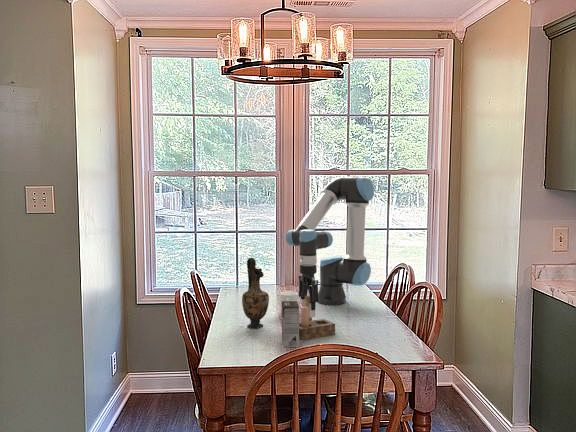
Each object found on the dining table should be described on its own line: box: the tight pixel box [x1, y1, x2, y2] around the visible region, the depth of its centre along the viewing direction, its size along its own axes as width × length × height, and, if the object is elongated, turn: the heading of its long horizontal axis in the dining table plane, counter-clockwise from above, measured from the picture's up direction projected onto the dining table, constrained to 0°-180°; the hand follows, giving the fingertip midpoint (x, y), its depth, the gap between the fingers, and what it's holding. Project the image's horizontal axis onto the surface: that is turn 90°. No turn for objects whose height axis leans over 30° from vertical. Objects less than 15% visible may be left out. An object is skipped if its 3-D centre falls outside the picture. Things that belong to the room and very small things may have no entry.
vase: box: [241, 257, 270, 330], centre depth 241 cm, size 12×12×30 cm
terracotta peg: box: [300, 306, 309, 327], centre depth 227 cm, size 3×3×12 cm
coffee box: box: [280, 301, 300, 348], centre depth 217 cm, size 9×6×16 cm
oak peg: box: [305, 295, 313, 321], centre depth 246 cm, size 3×3×12 cm
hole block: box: [299, 318, 336, 341], centre depth 229 cm, size 16×9×4 cm, turn 118°
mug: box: [279, 290, 299, 316], centre depth 258 cm, size 12×8×10 cm
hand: (308, 315), depth 246 cm, fingers open, 6 cm apart
